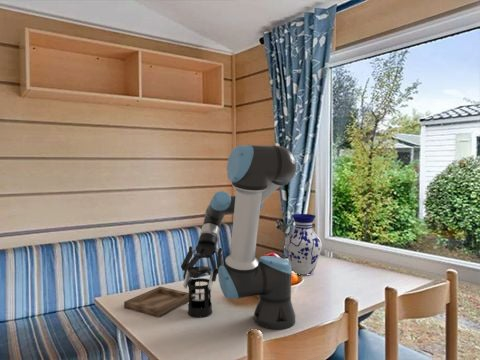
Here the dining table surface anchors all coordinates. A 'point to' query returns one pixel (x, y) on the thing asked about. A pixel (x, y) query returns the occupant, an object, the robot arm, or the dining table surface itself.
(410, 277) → the dining table surface
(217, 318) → the dining table surface
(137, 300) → the walnut tray
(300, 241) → the vase
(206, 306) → the french press
